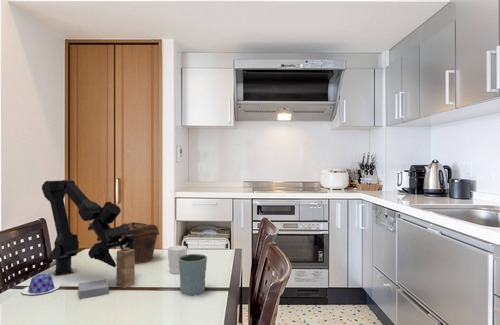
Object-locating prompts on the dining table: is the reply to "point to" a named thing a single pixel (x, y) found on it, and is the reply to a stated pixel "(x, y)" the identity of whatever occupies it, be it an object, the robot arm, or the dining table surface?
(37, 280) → the purple patterned hat
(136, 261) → the brown basket
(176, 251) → the white cup
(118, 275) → the column
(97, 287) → the base brick
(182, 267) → the green cup
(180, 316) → the dining table surface
